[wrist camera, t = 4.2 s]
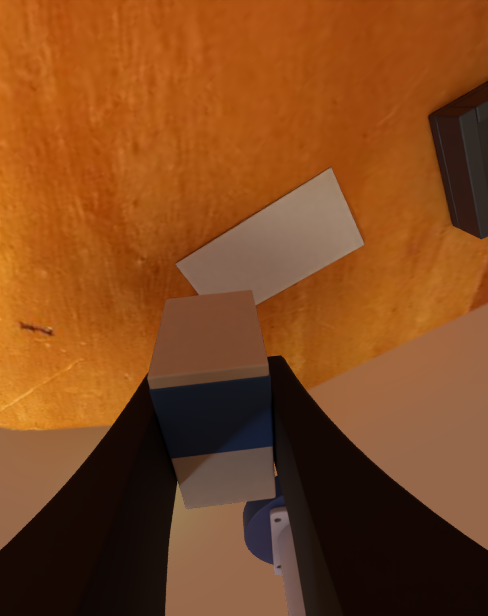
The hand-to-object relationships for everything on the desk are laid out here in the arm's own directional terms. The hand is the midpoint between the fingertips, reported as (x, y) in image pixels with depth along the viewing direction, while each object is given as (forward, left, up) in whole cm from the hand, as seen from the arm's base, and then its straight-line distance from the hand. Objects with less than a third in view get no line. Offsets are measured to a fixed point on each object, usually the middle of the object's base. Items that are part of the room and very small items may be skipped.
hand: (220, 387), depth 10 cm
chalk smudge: (+1, -3, -7) cm, 8 cm away
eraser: (0, 0, -1) cm, 1 cm away
